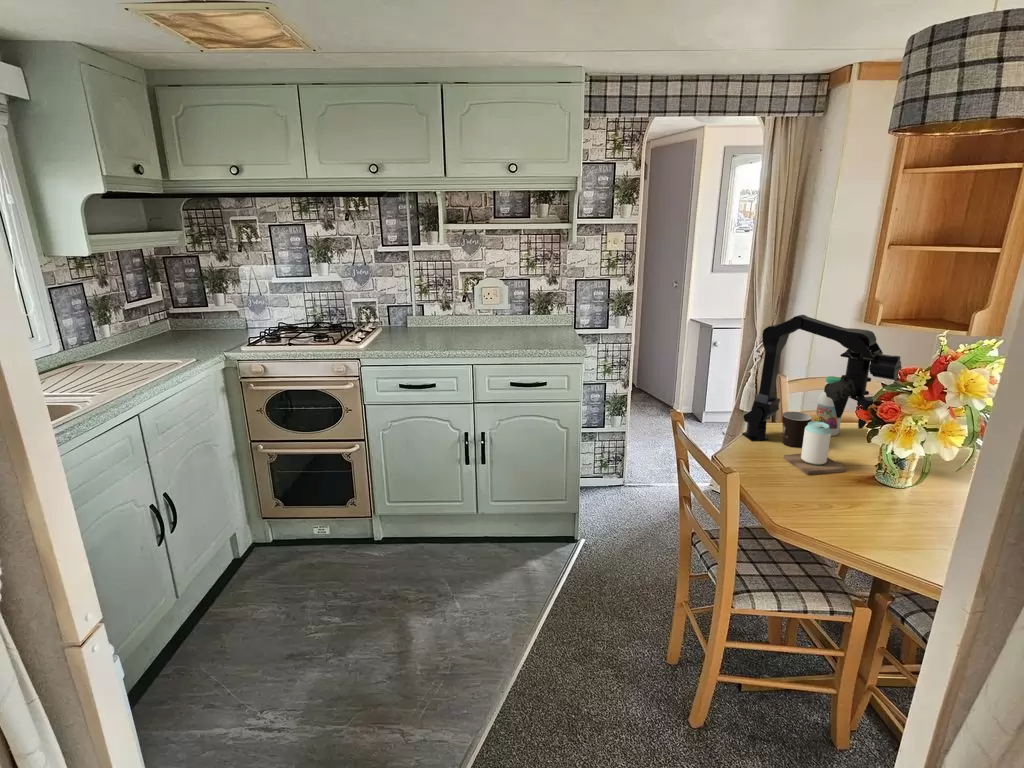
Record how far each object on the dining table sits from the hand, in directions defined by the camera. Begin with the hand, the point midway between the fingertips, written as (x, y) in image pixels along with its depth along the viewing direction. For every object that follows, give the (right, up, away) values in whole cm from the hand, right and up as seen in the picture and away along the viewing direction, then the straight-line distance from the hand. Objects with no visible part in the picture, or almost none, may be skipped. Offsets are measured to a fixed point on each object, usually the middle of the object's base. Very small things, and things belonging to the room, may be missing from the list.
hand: (849, 422), depth 173 cm
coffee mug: (-7, -8, +19) cm, 22 cm away
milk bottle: (+8, -5, +27) cm, 29 cm away
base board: (-10, -13, +3) cm, 16 cm away
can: (-10, -12, +2) cm, 16 cm away
